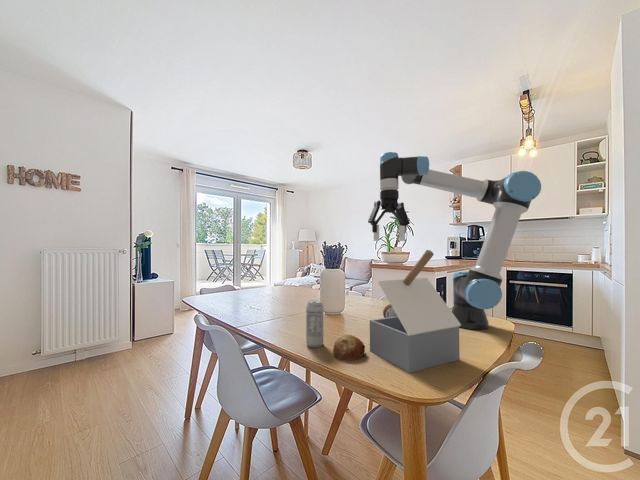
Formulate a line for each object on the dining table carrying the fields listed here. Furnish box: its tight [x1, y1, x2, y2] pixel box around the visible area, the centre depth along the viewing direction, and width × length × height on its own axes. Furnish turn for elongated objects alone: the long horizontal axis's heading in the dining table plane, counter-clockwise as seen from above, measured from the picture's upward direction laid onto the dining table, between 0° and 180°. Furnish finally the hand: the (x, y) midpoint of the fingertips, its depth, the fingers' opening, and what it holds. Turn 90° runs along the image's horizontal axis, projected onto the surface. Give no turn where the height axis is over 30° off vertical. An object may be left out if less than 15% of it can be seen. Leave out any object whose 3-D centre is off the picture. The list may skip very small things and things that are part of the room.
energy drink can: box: [305, 300, 324, 348], centre depth 98 cm, size 6×6×15 cm
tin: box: [382, 303, 397, 318], centre depth 125 cm, size 15×3×8 cm, turn 84°
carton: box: [369, 316, 461, 374], centre depth 88 cm, size 20×18×10 cm
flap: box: [377, 249, 461, 336], centre depth 82 cm, size 20×18×15 cm
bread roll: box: [332, 333, 366, 361], centre depth 89 cm, size 10×10×8 cm
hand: (389, 240), depth 117 cm, fingers open, 13 cm apart
